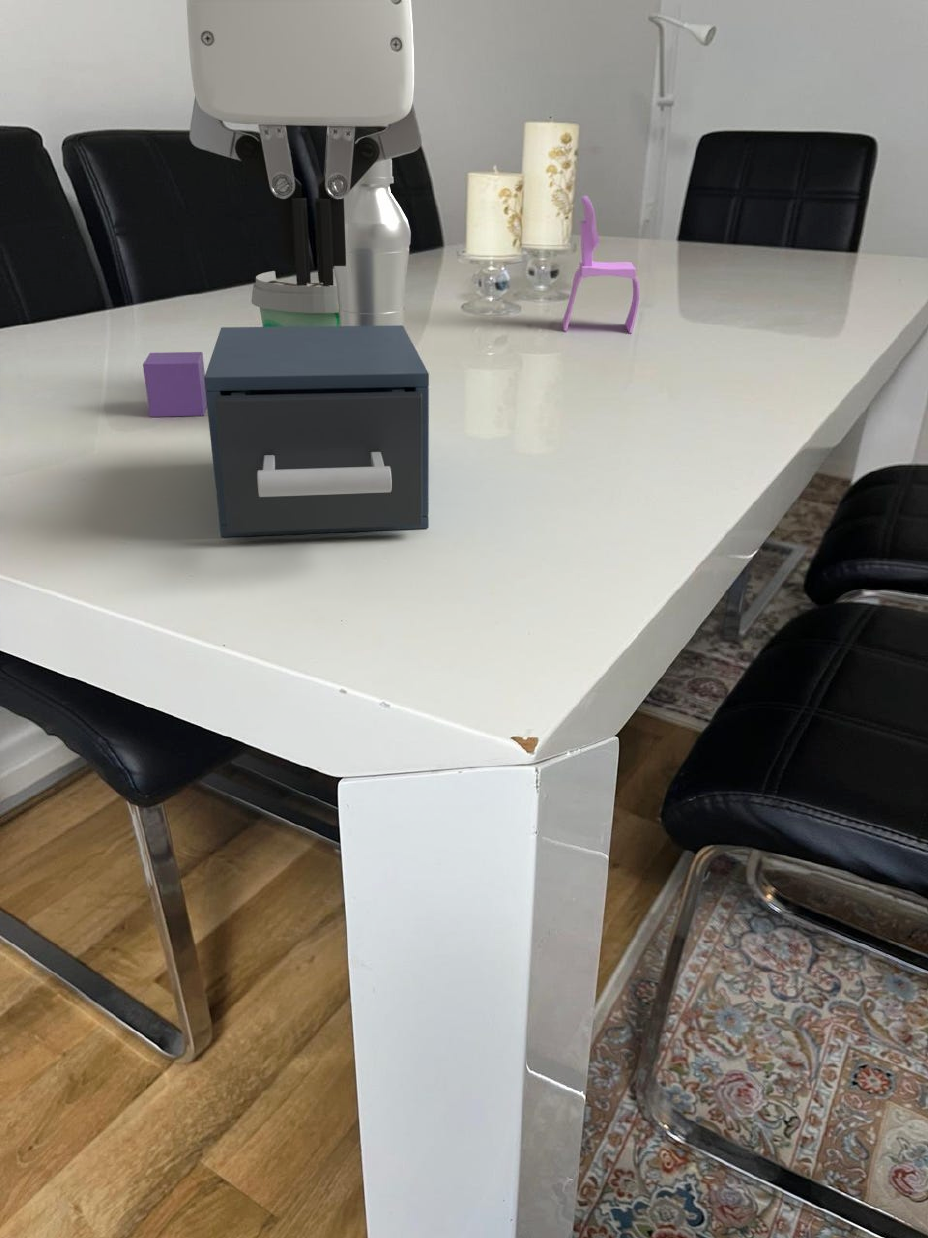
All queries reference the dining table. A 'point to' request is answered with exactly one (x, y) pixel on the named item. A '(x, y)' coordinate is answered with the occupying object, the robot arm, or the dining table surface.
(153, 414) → the purple cube
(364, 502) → the dark grey drawer
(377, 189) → the silver tall bottle
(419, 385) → the drawer cabinet
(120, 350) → the dining table surface
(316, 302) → the food container
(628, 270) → the toy chair
